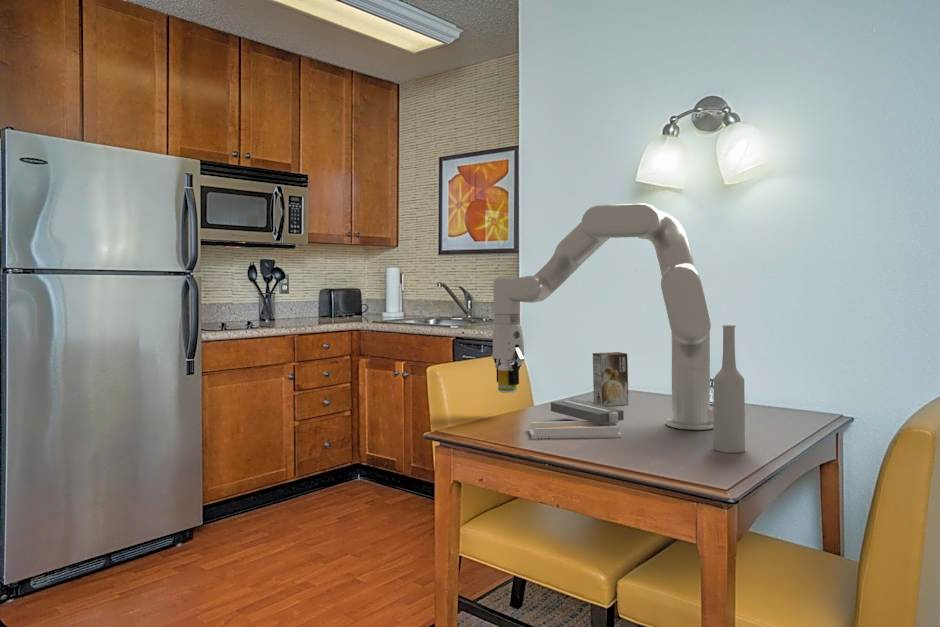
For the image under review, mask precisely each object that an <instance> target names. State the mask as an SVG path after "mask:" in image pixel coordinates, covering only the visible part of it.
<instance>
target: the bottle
mask: <svg viewBox="0 0 940 627" xmlns="http://www.w3.org/2000/svg"><path fill="white" fill-rule="evenodd" d="M736 327H737V326H736V325H735V324H724V325H722V329H723V330H722V359H721V368H720V370H719V371H718V372H717V373H716V374H715V376H713V410H714V411H713V428H712V430H713V431H712V435H713V438H712V439H713V440H712V441H713V445H712V446H713V447H712V448H713V450H714V451H716V452H719V453H725V454H741V453H744V452H745V451H746V431H745V430H746V421H745V420H746V419H745V418H746V414H745V412H746V411H745V410H746V408H745V404H746V403H745V400H746V399H745V378H744V376H743V375H742V374H741V373H740V371H739V370H738V369H737V364H736V362H737V361H736V347H735V346H736V345H735V344H736V342H735V341H736V340H735V339H736V336H735V334H736V333H735V331H736V329H735V328H736Z"/></svg>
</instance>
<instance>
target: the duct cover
mask: <svg viewBox="0 0 940 627" xmlns="http://www.w3.org/2000/svg"><path fill="white" fill-rule="evenodd" d="M550 412H553V413H557V414H561V415H564V416H568V417H573V418H576V419H580V420H582V421H591V422H595V423H599V424H602V423H608V422H609V423H616V424H618V423H619V422H620V421H624V420H625V419H624V416H625V414H624V412H625V411H624V410H622V409H617V408H614V407H611V406H601V405H597V404H594V403H592V402H591V403H590V402H587V401H581V400H578V399H567V400H560V401H559V400H558V401H553V402H552V401H551V402H550Z"/></svg>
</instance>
